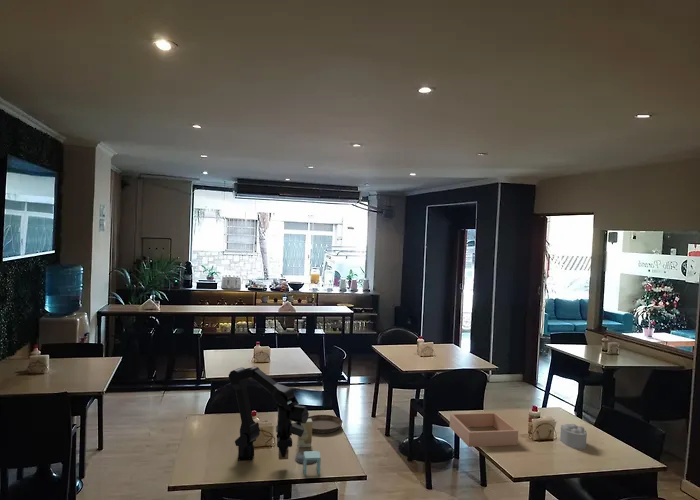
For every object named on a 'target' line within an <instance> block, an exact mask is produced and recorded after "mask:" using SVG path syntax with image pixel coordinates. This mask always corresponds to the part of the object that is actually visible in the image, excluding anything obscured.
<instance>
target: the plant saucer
mask: <svg viewBox="0 0 700 500" xmlns="http://www.w3.org/2000/svg"><path fill="white" fill-rule="evenodd" d="M310 418H311V419H312V421H313V423H312V433H316V434H328V433H334V432H335V431H337V430H338V429H339V428H340V427H342V424H343V419H341V418H340V417H339V416H335V415H331V414H316V415H315V414H313V415H311V416H308V419H310Z"/></svg>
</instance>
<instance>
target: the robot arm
mask: <svg viewBox="0 0 700 500" xmlns="http://www.w3.org/2000/svg"><path fill="white" fill-rule="evenodd" d="M250 378H251V379H253V380H254V381H255V382H257V383H258V385H260V386H261V387H263V388H264V389H265V390H266V391H268V392H269V393H270V394H271V395H272V399H274V401H275V402H276V403H275V404H274V405H273V408H275V409H277V424H276V426H275V427H276V428H275V432H276V433H277V434H276V447H277V448H278V451H279V450H280V453H281V455H282V457H285V455H286V451H287V447H288V448H292V447H293V438H292V437H291V436H292V435H295V436H297V437H298V436H299V437H302V435H303V432H304V427H303V425H302V426H301V423H306V422H307V420H308V417H310V416H309V414H310V413H309V411H308V409H307V406H305V405H299V401H298V399H297V398H296V396H295V392H294V390H293V389H291V388H290V387H288V386H286V385H283V384H280V383H278V382H277V381H275V380H274V379H273V378H272V377H270V376H269V375H268V374H266V373H265V372H264V371H262V369H260V368H259V366H252V367H248V368H246V367H239V368H236V369H233V370H231V371H230V372H229V374H228V380H229V383H230V385H231V387H232V388H233V389H234V390H235V395H236V400H237V406H238V411H239V417H240V419H241V420H240V423H241V424H240V427H239V436H238V437H237V438H236V439H235V440H234V444H235V446H236V447H238V452H237V453H238V454H237V455H238V456H237V461H253V459H254V457H255V445H254V442H256V441H257V439H258V438H259V436H260V432H261V429H260V427H259V426H260V424H259V422H255V420H254V417H253V415H252V409H251V403H250V398H249V393H248V388H247V387H248V383H249V379H250Z"/></svg>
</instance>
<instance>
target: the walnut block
mask: <svg viewBox="0 0 700 500" xmlns="http://www.w3.org/2000/svg"><path fill="white" fill-rule="evenodd" d="M289 451H290V450H289V447H287V451H286V455H285V457H282V455H281V453H280V450H279V449H278V460H280V461H281V460H289V454H290V453H289Z"/></svg>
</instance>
